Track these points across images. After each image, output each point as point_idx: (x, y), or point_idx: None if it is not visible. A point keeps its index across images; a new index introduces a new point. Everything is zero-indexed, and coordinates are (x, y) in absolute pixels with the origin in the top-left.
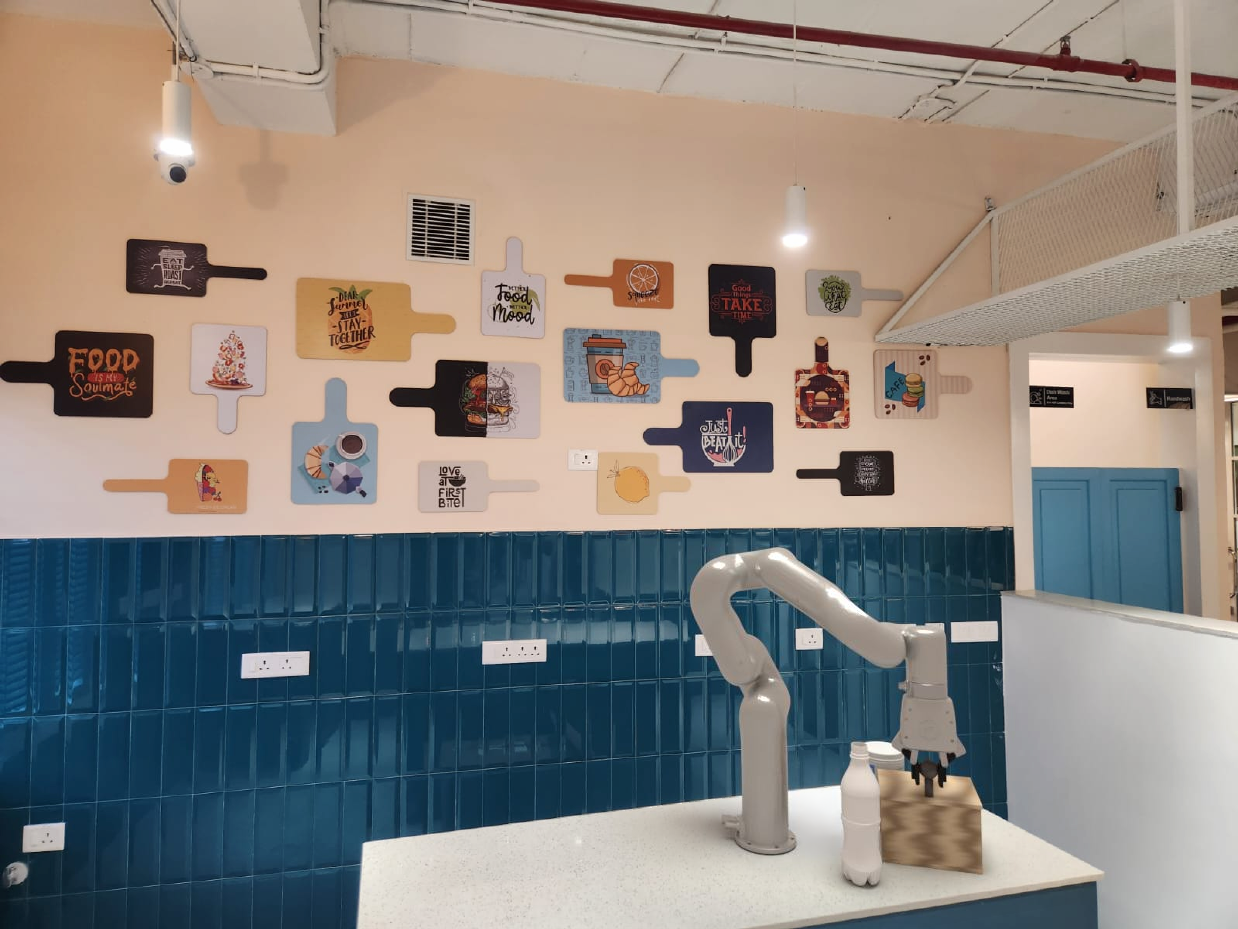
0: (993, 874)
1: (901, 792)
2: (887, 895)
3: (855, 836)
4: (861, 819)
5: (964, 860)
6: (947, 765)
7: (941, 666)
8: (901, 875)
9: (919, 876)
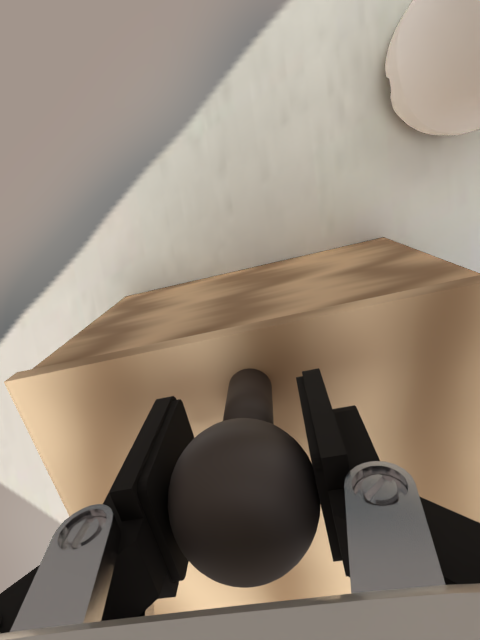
0: (103, 311)
1: (391, 372)
2: (348, 3)
3: None
4: None
5: (159, 295)
6: (65, 525)
7: None
8: (322, 176)
9: (273, 198)
